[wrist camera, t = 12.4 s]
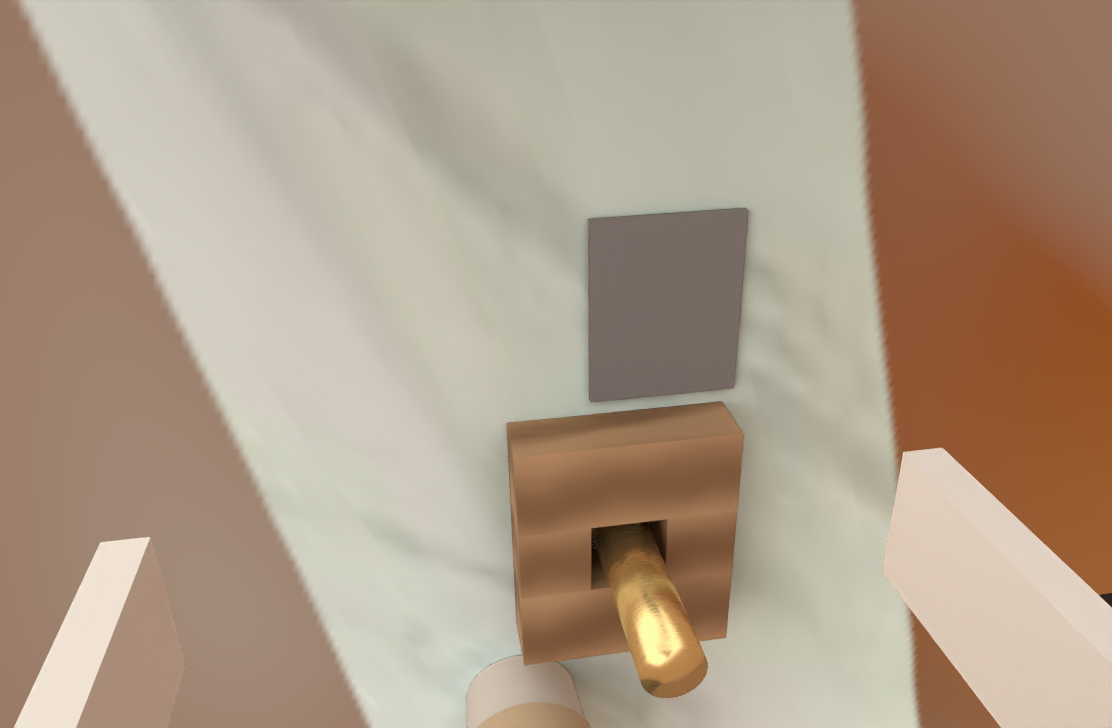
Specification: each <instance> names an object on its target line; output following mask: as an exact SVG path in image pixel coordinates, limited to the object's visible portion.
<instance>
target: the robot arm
mask: <svg viewBox="0 0 1112 728" xmlns="http://www.w3.org/2000/svg"><path fill="white" fill-rule="evenodd" d="M882 572H883V574H884V575H885V576H886V578H887V579H888V580H889V581H890V583H891V584H892V585H893V587H894V588H895V589H896V591H897V592H898V593H899V595H900V596H901V597H902V598H903V600H904V601H905V602H906V604H907V605H908V606H909V608H910V609H911V610H912V612H913V613H914V614H915V616H916V617H917V618H918V619H919V621H920V622H921V623H922V625H923V626H924V627H925V628H926V630H927V631H928V633H929V634H930V635H931V636H932V638H933V639H934V640H935V642H936V643H937V644H938V646H939V647H940V648H941V649H942V651H943V652H944V653H945V655H946V656H947V657H948V659H949V660H950V661H951V662H952V664H953V665H954V667H955V668H956V669H957V670H958V672H959V673H960V674H961V676H962V677H963V678H964V680H965V681H966V682H967V684H968V685H969V686H970V688H971V689H972V690H973V691H974V693H975V694H976V695H977V697H978V698H979V699H980V701H981V702H982V703H983V705H984V706H985V707H986V708H987V710H988V711H989V712H990V714H991V715H992V716H993V717H994V719H995V720H996V722H997V723H998V724H999V725H1000V727H1001V728H1112V593H1109V594H1102V595H1098V594H1097V593H1095V591H1093V590H1092V589H1091V588H1090V587H1089V586H1088V585H1087V584H1086V583H1085V582H1084V581H1083V580H1082V579H1081V578H1080V577H1079V576H1077V574H1076V573H1074V572H1073V571H1072V570H1071V569H1070V568H1069V567H1068V566H1067V565H1066V564H1065V563H1064V562H1063V561H1062V560H1060V558H1059V557H1057V556H1056V555H1055V554H1054V553H1053V552H1052V551H1051V550H1050V549H1049V548H1048V547H1047V546H1046V545H1045V544H1044V543H1043V542H1042V541H1041V540H1039V539H1038V538H1037V537H1036V536H1035V535H1034V534H1033V533H1032V532H1031V531H1030V530H1029V529H1028V528H1027V527H1026V526H1025V525H1024V524H1023V523H1021V522H1020V521H1019V520H1018V519H1017V518H1016V517H1015V516H1014V515H1013V514H1012V513H1011V512H1010V511H1009V510H1008V509H1007V508H1006V507H1004V506H1003V505H1002V504H1001V503H1000V502H999V501H998V500H997V499H996V498H995V497H994V496H993V495H992V494H991V493H990V492H989V491H988V490H986V489H985V488H984V487H983V486H982V485H981V484H980V483H979V482H978V481H977V480H976V479H975V478H974V477H973V476H972V475H971V474H969V473H968V472H967V471H966V470H965V469H964V468H963V467H962V466H961V465H960V464H959V463H958V462H957V461H956V460H955V459H954V458H952V457H951V456H950V455H949V454H948V453H947V452H946V451H945V450H944V449H943V448H937V449H927V450H919V451H909V452H904V453H903V458H902V463H901V469H900V474H899V480H898V485H897V491H896V496H895V502H894V507H893V513H892V518H891V524H890V529H889V534H888V540H887V545H886V551H885V556H884V562H883V567H882ZM184 666H185V661H184V657H183V654H182V650H181V646H180V643H179V639H178V635H177V632H176V628H175V624H174V621H173V617H172V613H171V610H170V606H169V603H168V599H167V595H166V592H165V588H164V584H163V581H162V577H161V573H160V570H159V566H158V562H157V559H156V556H155V551H154V548H153V544H152V540H151V537H144V538H136V539H126V540H117V541H109V542H101V543H100V545H99V547H98V549H97V551H96V553H95V555H94V558H93V560H92V562H91V564H90V566H89V568H88V570H87V573H86V575H85V577H84V579H83V581H82V583H81V585H80V587H79V590H78V592H77V594H76V596H75V598H74V600H73V602H72V605H71V607H70V609H69V611H68V613H67V615H66V617H65V620H64V622H63V624H62V626H61V628H60V630H59V632H58V634H57V637H56V639H55V641H54V643H53V645H52V647H51V649H50V652H49V654H48V656H47V658H46V660H45V662H44V665H43V667H42V669H41V671H40V673H39V675H38V677H37V680H36V682H35V684H34V686H33V688H32V690H31V692H30V695H29V697H28V699H27V701H26V703H25V705H24V707H23V710H22V712H21V714H20V716H19V718H18V720H17V722H16V725H15V727H14V728H168V724H169V720H170V716H171V713H172V709H173V706H174V702H175V699H176V695H177V691H178V688H179V684H180V680H181V677H182V673H183V669H184Z"/></svg>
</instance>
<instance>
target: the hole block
mask: <svg viewBox="0 0 1112 728" xmlns="http://www.w3.org/2000/svg"><path fill="white" fill-rule="evenodd" d="M743 439H744V433H743V431H742V430H741V429H740V427H739V426H738V424H737V423H736V421H735V420H734V419H733V417H732V416H731V414H730V413H729V411H728V410H727V409H726V407H725V406H724V404H723V403H722V402H712V403H702V404H692V405H683V406H673V407H663V408H653V409H643V410H633V411H623V412H613V413H603V414H593V415H583V416H573V417H563V418H553V419H543V420H533V421H523V422H514V423H507V441H508V461H509V481H510V501H511V521H512V541H513V561H514V581H515V601H516V621H517V628H518V634H519V639H520V644H521V650H522V655H523V661H524V666H527V665H534V664H541V663H548V662H555V661H563V660H570V659H577V658H584V657H591V656H598V655H605V654H613V653H620V652H627V651H630V648H629V645H628V642H627V639H626V636H625V633H624V630H623V627H622V624H621V621H620V618H619V615H618V612H617V609H616V606H615V603H614V600H613V597H612V594H611V591H610V588H609V585H608V582H607V579H606V576H605V573H604V570H603V567H602V564H601V561H600V558H599V555H598V552H597V549H591V528H598V527H606V526H615V525H623V524H632V523H640V522H648V521H649V528H650V531H651V533H652V535H653V537H654V540H655V542H656V544H657V547H658V549H659V551H660V554H661V556H662V558H663V560H664V563H665V565H666V567H667V570H668V572H669V574H670V577H671V579H672V581H673V583H674V586H675V588H676V590H677V593H678V595H679V597H680V600H681V602H682V604H683V606H684V609H685V611H686V613H687V616H688V618H689V620H690V623H691V625H692V627H693V629H694V632H695V634H696V636H697V639H698V641H706V640H713V639H720V638H726V632H727V620H728V609H729V598H730V586H731V575H732V564H733V552H734V541H735V530H736V518H737V507H738V496H739V484H740V473H741V462H742V450H743Z"/></svg>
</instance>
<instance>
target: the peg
mask: <svg viewBox="0 0 1112 728" xmlns="http://www.w3.org/2000/svg"><path fill="white" fill-rule="evenodd" d="M591 534H592V537H593V540H594V543H595V546H596V549H597V552H598V555H599V558H600V561H601V564H602V567H603V570H604V573H605V576H606V579H607V582H608V585H609V588H610V591H611V594H612V597H613V600H614V603H615V606H616V609H617V612H618V615H619V618H620V621H621V624H622V627H623V630H624V633H625V636H626V639H627V642H628V645H629V648H630V651H631V654H632V657H633V660H634V663H635V666H636V669H637V672H638V675H639V678H640V681H641V684H642V686H643V688H644V689H645V690H646V691H647V692H648V693H650V694H651V695H653V696H656V697H660V698H673V697H678V696H681V695H684V694H686V693H688V692H690V691H692V690H693V689H694V688H696V687H697V686H698V685H699V684H700V683H701V682H702V680H703V679H704V677H705V675H706V673H707V668H708V663H707V660H706V657H705V655H704V652H703V650H702V648H701V646H700V643H699V641H698V639H697V636H696V634H695V632H694V629H693V627H692V625H691V623H690V620H689V618H688V616H687V613H686V611H685V609H684V606H683V604H682V602H681V600H680V597H679V595H678V593H677V590H676V588H675V586H674V583H673V581H672V579H671V577H670V574H669V572H668V570H667V567H666V565H665V563H664V560H663V558H662V556H661V554H660V551H659V549H658V547H657V544H656V542H655V540H654V537H653V535H652V533H651V531H650V528H649V526H648V524H647V522H640V523H632V524H623V525H615V526H606V527H598V528H591Z"/></svg>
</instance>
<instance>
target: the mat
mask: <svg viewBox="0 0 1112 728" xmlns="http://www.w3.org/2000/svg"><path fill="white" fill-rule="evenodd" d="M747 220H748V209H746V208H736V209H722V210H707V211H693V212H678V213H664V214H649V215H635V216H620V217H606V218H591V219H589V400H590V402H598V401H608V400H619V399H629V398H639V397H649V396H659V395H669V394H679V393H690V392H700V391H710V390H720V389H730V388H734V382H735V370H736V357H737V345H738V333H739V320H740V308H741V295H742V283H743V270H744V258H745V245H746V233H747Z"/></svg>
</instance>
